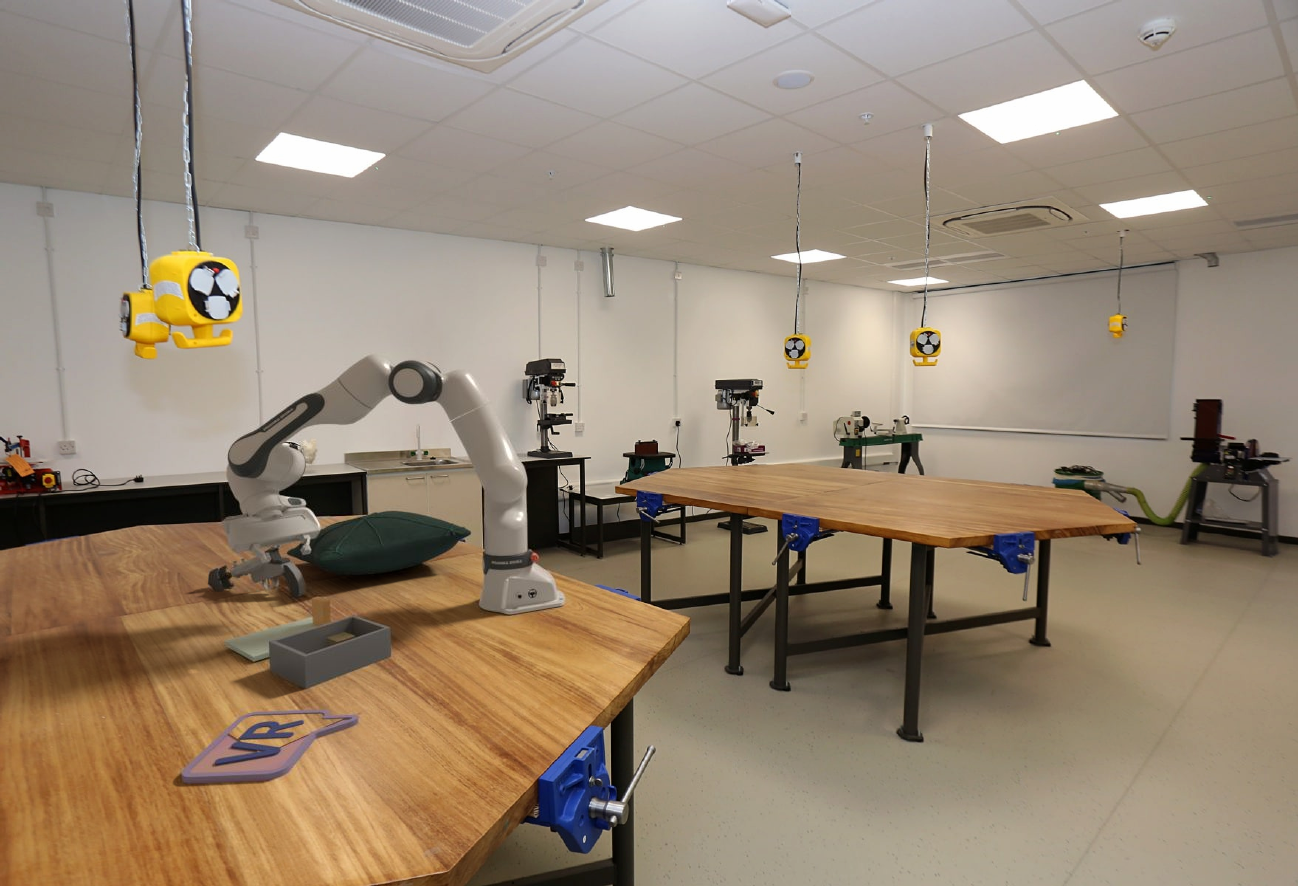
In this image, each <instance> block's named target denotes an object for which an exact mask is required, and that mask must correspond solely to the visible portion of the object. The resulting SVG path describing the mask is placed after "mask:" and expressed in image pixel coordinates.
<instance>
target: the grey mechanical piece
mask: <svg viewBox="0 0 1298 886" xmlns="http://www.w3.org/2000/svg"><path fill="white" fill-rule="evenodd" d="M282 546H283V544H282V545H276V546H271V547H268V549H267V550H264V551H263V552H265V553H267V552H269V554H270V556H271V560H270V562H267V563H262V562H261V560H260V558H258V557H257V556H255V557H253V558H251V559H249V560H246V558H245V557H243V558H241V559H240V561H241V563H238V561H237V560H233V561H232V563H233V565H232V567H231V569H230V570H229V571H227V570H228V569H229V568H228V566H227V564H226V565H223V566H221V567H215V568H214V569H212V570H210V571H209V573H208V576H207V577H208V578H207V585H208V586H209V587H211V588H212V590H214V591H215V592H217V591H218V592H221V591H225V590H226V589H230V588H233V587H235V583H234V582H233V581H231V578H234V579H235V578H236V579H240V578H241V577H243V576H246V577H247V576H248V575H250V577H251V581H252V582H253V583H254V584H258V583H260V582H261V584H262V585H261V586H262V587H263V588H264V590H265V591H271V590H274V589H276V588H277V587H278V586H280V579H279V578H278V577H279V576H281V575H282V576H283V578H284V579H285V581H286V583H287V586H288V590H289V594H290V598H298V597H301V596H304V595H305V593H306V583H305V579H304V576H303V574H302V572H301V571H300V569H299V568H298V567H297V566H296V565H295V563H293V562H292V561H291V559H290V558H289V557H282V556H281V554H280V551H279V550H280V549H281V548H280V547H282ZM270 581H271V588H270Z"/></svg>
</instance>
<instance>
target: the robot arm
mask: <svg viewBox="0 0 1298 886" xmlns="http://www.w3.org/2000/svg"><path fill="white" fill-rule="evenodd" d="M389 396H393V397H394V398H395V399H397V400H398V401H399V402H401V403H403V404H407V405H423V404H427V403H432V402H436V403H437V404H439V405H440V406H441V407H442V409H443V410H444V412H445V414H446V415H447V417H448V419H449V421H450V423H451V425H452V427H453V429H454V431H455V433H456V435H457V436H458V438H459V440H460V442H461V444H462V446H463V447H464V448H463V449H464V450H465V452H466V454H467V456H468V459H469V460H470V462H471V464H472V467H473V469H474V472H475V474H476V476H477V478H478V480H479V482H480V484H481V485H482V488H483V490H484V492H483V493H484V494H483V495H484V496H483V497H484V498H483V500H484V503H483V508H484V511H483V513H484V514H483V516H484V517H483V532H484V533H483V535H484V537H483V538H484V540H483V541H484V544H483V545H484V550H483V552H482V561H481V562H482V563H481V564H482V565H481V566H482V572H483V573H482V574H483V581H482V582H483V583H482V589H481V595H480V599H479V602H478V606H479V608H481V609H483V610H486V611H489V612H496V613H501V614H504V615H516V614H522V613H527V612H533V611H534V612H535V611H539V610H540V611H541V610H545V609H551V608H557V607H562V606H564V605H565V603H566V596H565V594H564V593H563V592H562V591H561V590H559V589H558V588H557V583H556V580H555V579H554V576H553V575H552V574H551V573H550V572H549V571H547V570H545V569H544V568H543V567H541V566H540V565H538V564H537V563H538V561H539V558H540V557H539V555H538V553H536V552H535V551H533V550H532V549H529V548H528V512H527V510H528V508H527V486H528V476H527V472H526V468H525V465H524V464H523V463H522V461H520V458H519V457H518V455H517V453H516V451H515V449H514V447H513V445H512V443H511V440H510V439H509V436H508V435H507V433H506V431H505V428H504V427H503V425H502V422H501V421H500V418H499V417H498V415H497V413H496V411H495V409H494V408H493V406H492V403H491V402H490V401H491V400H490V399H489V398H488V396H487V394H486V393H485V391H484V389H483V388H482V387H481V384H480V383H479V382H478V381H477V379H476V378H475V377H474V375H473V374H471V372H469V371H467V370H465V369H456V370H452V371H449V372H447V373H442V371H441V370H440V368H438V366H436V365H435V364H434V363H431V362H428V361H425V360H420V359H409V360H404V361H402V362H400V363H399V362H398V364H397V365H395V364H393V363H392V362H391V361H390V360H389V359H387V358H385V357H384V356H382V355H379V354H368V355H366V356H364V357H363V358H361V359H360V360H358V361H357V362H355V363H354V364H352V365H351V366H349V367H348V368H347V369H346V370H345V371H343V372H342V374H340V375H339V376H338V377H337V378H336V379H335V380H333V381H332V382H331V383H329V384H327V385H326V386H324V387H323V388H321V389H320V390H317V391H314V392H312V393H309V394H308V393H307V394H306V395H304V396H302V397H300V398H299V399H296V400H295V401H294V402H292V403H291V404H290V405H288V406H287V407H286V408H284V409H283V410H282V411H279V413H277V414H276V415H275V416H273V417H272V418H270V419H269V420H267V422H264V423H263V424H262V425H261V426H259V427H257V428H256V429H254V430H253V431H251V432H249V433H246V434H243V435H242V436H240V437H238V438H237V439H236V440H235V441H233V443H232V444H231V446H230V448H229V450H228V452H227V463H228V464H227V466H226V480H227V482H228V485H229V487H230V490H231V492H232V493H233V496H234V498H235V500H237V501H238V502H239V509H240V511H241V513H242V514H240V515H239V514H238V515H234V516H233V515H232V516H231V515H230V516H227V517H225V518H224V519H223V520H221V522H220V524H221V525H220V526H221V528H222V530H223V531H224V532H225V533H226V539H227V543H228V545H229V548H230V550H231V551H232V552H234V553H237V554H238V553H244V552H248V551H250V552H251V554H252V555H254V556H255V557H258V558H260V560H261V562H262V563H267V562H270V560H271V556H270V554H269V552H267V553H265V552H264V551H263V550H262V549H265V548H271V547H273V546H277V545H282V546H283V545H286V544H292V543H297V542H300V543H302V544H304V546H302V548H301V552H302V554H303V555H306V554H310V552H311V548H310V546H309V543H310V539H314V538H316V537H317V536H318V534H319V532H320V530H321V529H322V526H321V523H320V522H319V520H318V518H317V517H316V515H315V513H314V512H313V511H312V510H311V509H310V508H308V507H306V505H307V502H306V500H305V499H303V498H300V497H293V496H292V497H291V496H285V495H280V492H281V491H284V490H286V489H287V488H289V487H291V486H292V485H294V484H296V483H297V482H298V481H299V480H300V479H301V478H302V477H303V476H304V473H305V472H306V467H307V466H306V465H307V464H306V461H307V460H306V458H305V455H304V454H303V452H302V451H300V450H298V449H296V448H293V447H292V446H291V447H290V446H288V445H285V444H284V443H286V442H287V441H289V440H290V439H291V438H293V437H294V436H295V435H297V434H298V433H299V432H301V431H302V430H304V429H306V428H309V427H312V426H318V425H339V426H341V425H342V426H344V425H345V426H346V425H347V426H348V425H352V424H355V423H357V422H358V421H361V420H362V419H363V418H365V417H367V416H368V414H369V413H370V412H372V411H373V410H374V409H375V408H376V407H377V406H378V405H379V404H380V403H381V402H382V401H383V400H384V399H386V398H388V397H389ZM536 562H537V563H536Z"/></svg>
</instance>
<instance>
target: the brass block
mask: <svg viewBox="0 0 1298 886" xmlns="http://www.w3.org/2000/svg"><path fill="white" fill-rule="evenodd" d="M353 638H356V637H355V636H354V635H352V634H349V633H346V632H343V633H340V634H337V635H333V636H330V637H327V638H326V640H327V647H330V646H333V645H336V644H338V643H341V642H344V641H347V640H350V639H353Z"/></svg>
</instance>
